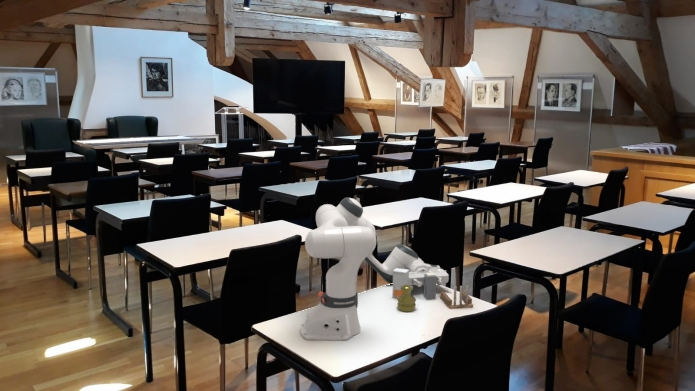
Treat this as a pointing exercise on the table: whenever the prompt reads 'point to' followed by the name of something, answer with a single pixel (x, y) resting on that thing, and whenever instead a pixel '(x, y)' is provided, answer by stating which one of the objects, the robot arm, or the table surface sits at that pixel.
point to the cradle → (448, 301)
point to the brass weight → (406, 299)
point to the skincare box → (399, 281)
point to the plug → (430, 285)
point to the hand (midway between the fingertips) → (430, 284)
